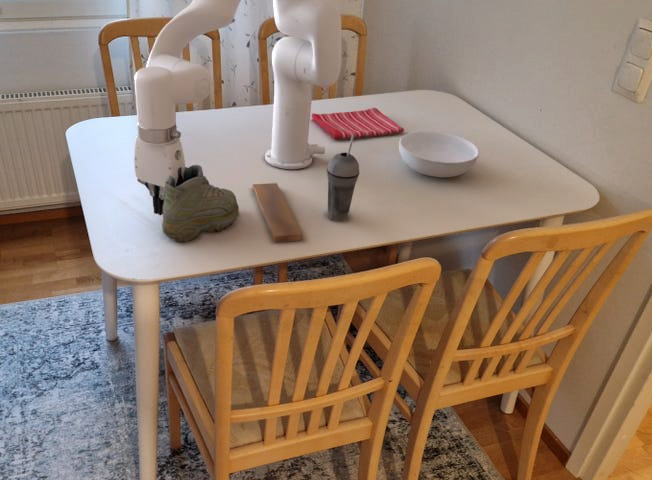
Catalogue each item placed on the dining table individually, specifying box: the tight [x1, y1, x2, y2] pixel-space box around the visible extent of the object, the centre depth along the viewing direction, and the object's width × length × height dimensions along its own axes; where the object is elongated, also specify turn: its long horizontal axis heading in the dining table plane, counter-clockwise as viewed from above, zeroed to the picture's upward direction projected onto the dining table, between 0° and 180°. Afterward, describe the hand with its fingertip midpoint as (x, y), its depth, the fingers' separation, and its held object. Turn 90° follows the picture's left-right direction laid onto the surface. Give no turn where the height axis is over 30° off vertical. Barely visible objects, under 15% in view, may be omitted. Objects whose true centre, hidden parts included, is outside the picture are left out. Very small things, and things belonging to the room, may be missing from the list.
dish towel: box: [311, 107, 405, 141], centre depth 191 cm, size 17×24×3 cm
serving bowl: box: [398, 130, 480, 178], centre depth 169 cm, size 21×21×7 cm
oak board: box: [252, 182, 303, 244], centre depth 145 cm, size 6×24×2 cm, turn 14°
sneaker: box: [161, 164, 239, 243], centre depth 135 cm, size 11×19×15 cm, turn 123°
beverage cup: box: [326, 135, 360, 222], centre depth 141 cm, size 7×7×20 cm
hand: (161, 211), depth 137 cm, fingers closed
